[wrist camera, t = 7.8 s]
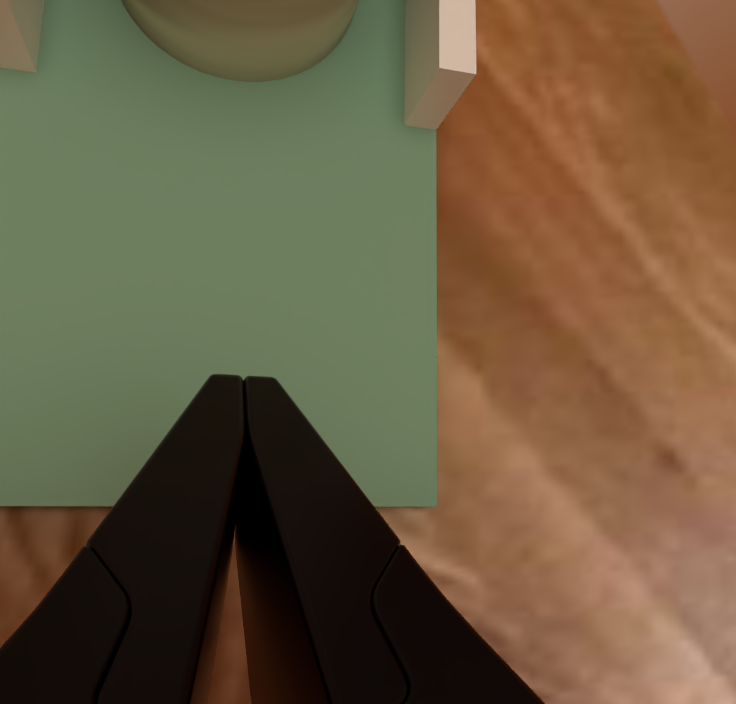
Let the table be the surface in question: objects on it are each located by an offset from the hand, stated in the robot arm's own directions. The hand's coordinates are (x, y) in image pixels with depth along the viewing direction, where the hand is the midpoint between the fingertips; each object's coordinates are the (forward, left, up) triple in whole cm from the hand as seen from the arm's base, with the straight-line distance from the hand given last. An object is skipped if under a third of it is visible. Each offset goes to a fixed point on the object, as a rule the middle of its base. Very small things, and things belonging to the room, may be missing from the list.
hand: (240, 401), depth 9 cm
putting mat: (+9, 0, -10) cm, 13 cm away
